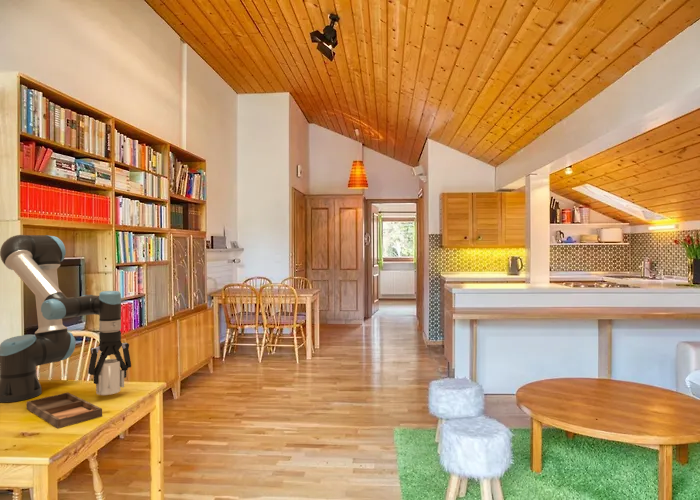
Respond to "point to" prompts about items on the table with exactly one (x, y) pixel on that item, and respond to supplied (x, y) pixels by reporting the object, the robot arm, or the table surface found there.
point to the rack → (64, 409)
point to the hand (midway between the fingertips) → (110, 389)
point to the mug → (110, 377)
